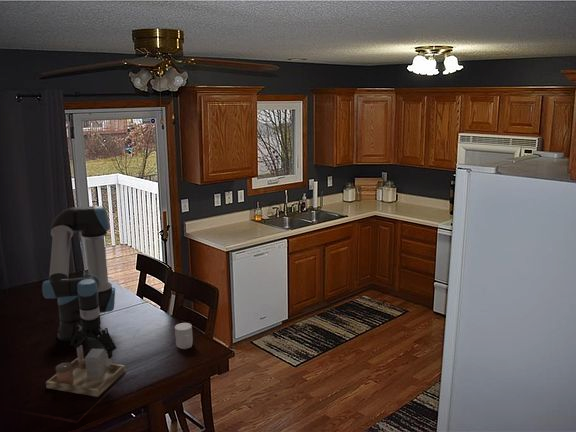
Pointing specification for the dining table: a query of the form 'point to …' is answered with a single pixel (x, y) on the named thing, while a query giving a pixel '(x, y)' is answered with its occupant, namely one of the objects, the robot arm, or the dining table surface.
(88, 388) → the tray
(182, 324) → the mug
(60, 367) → the jar
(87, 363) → the small box
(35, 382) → the dining table surface
